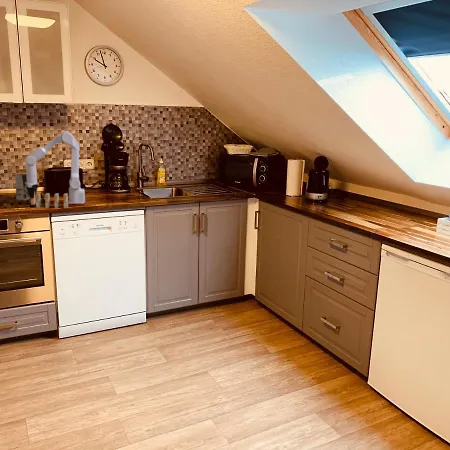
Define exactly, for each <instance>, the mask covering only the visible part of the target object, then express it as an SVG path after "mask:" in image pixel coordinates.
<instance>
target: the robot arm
mask: <svg viewBox="0 0 450 450" xmlns="http://www.w3.org/2000/svg"><path fill="white" fill-rule="evenodd" d="M63 143H65V144H67V145H68V146H69V147H70V148H71V154H70V155H71V158H70V160H71V162H70V164H71V165H70V179H69V181H68V182H69V183H68V184H69V187H68V196H69V197H68V204H71V205H72V204H75V205H76V204H85V202H86V194H85V193H86V191H85V188H81V182H80V175H79V173H80V171H79V169H80V144H79V142H78V141H77V139H76V138H75V136H74V135H73V134H72V133H70V132H69V131H62V132H61V134H58V135H57V136H55V137H54V138H52V140H50V141H49V142H48V143H47V144H45V145H44V146H39V147H36V148H35V150H34V151H33V152H30V153H29V155H27V156H26V157H25V163H26V165H25V166H26V167H25V169H26V171H25V172H26V174H27V182H25V184H27V185H28V187H26V189H27V191H28V193H29V196H30V198H34V194H35V198H36V194H37V193H38V189H39V186H40V185H39V184H38V173H37V164H36V163H37V161H40V160H41V159H43V158H44V157H45V156H47V154H48V151H49V150H51V149H52V148H53V147H55V146H56V145H57V144H63Z"/></svg>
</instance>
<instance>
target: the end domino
mask: <svg viewBox="0 0 450 450" xmlns="http://www.w3.org/2000/svg"><path fill="white" fill-rule="evenodd" d="M35 204H36V197H35V194H34V198H31V199H30V205H35Z"/></svg>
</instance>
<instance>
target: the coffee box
mask: <svg viewBox="0 0 450 450" xmlns="http://www.w3.org/2000/svg"><path fill="white" fill-rule="evenodd" d="M14 177H15V179H14V180H15V181H14V182H15V196H16V200H17V201H28V200H31V198H30V196H29V193H28V191H27V189H26V187H28V185H27V184H25V182H27V173H18V174H15V175H14Z"/></svg>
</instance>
